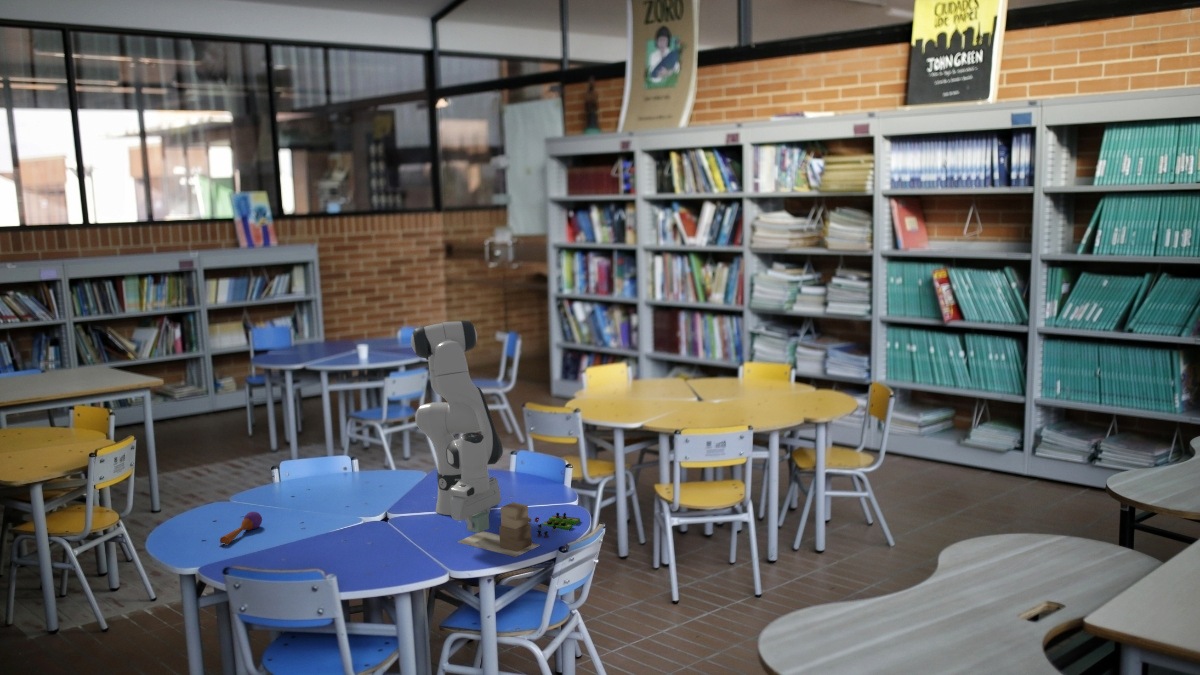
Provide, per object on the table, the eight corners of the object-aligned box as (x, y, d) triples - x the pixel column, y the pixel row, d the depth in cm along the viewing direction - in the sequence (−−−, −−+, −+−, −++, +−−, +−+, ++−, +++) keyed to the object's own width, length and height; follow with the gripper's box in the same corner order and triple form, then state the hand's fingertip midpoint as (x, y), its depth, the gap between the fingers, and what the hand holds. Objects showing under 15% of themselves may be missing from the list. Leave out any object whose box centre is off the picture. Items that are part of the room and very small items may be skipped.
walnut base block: (514, 540, 312) (513, 519, 311) (531, 544, 307) (530, 523, 306) (500, 547, 306) (499, 526, 305) (517, 551, 302) (516, 530, 301)
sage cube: (477, 525, 318) (476, 510, 317) (489, 528, 315) (488, 513, 314) (467, 530, 314) (466, 515, 313) (478, 533, 311) (477, 518, 310)
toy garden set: (551, 546, 312) (551, 532, 311) (498, 539, 319) (498, 526, 318) (580, 523, 333) (579, 510, 332) (530, 517, 340) (529, 505, 339)
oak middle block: (514, 520, 310) (513, 502, 309) (528, 523, 306) (527, 505, 306) (501, 525, 305) (500, 507, 304) (515, 529, 302) (515, 510, 301)
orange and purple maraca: (214, 534, 320) (247, 510, 339) (219, 550, 322) (252, 525, 341) (229, 531, 319) (262, 507, 338) (234, 548, 320) (267, 523, 339)
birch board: (482, 535, 322) (482, 530, 322) (541, 549, 307) (540, 544, 307) (456, 546, 313) (456, 541, 312) (515, 561, 298) (515, 556, 298)
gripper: (489, 473, 322) (491, 513, 324) (446, 491, 305) (448, 533, 308) (504, 476, 318) (506, 517, 321) (461, 494, 302) (463, 537, 304)
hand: (477, 525), depth 314 cm, fingers closed on sage cube, 5 cm apart
